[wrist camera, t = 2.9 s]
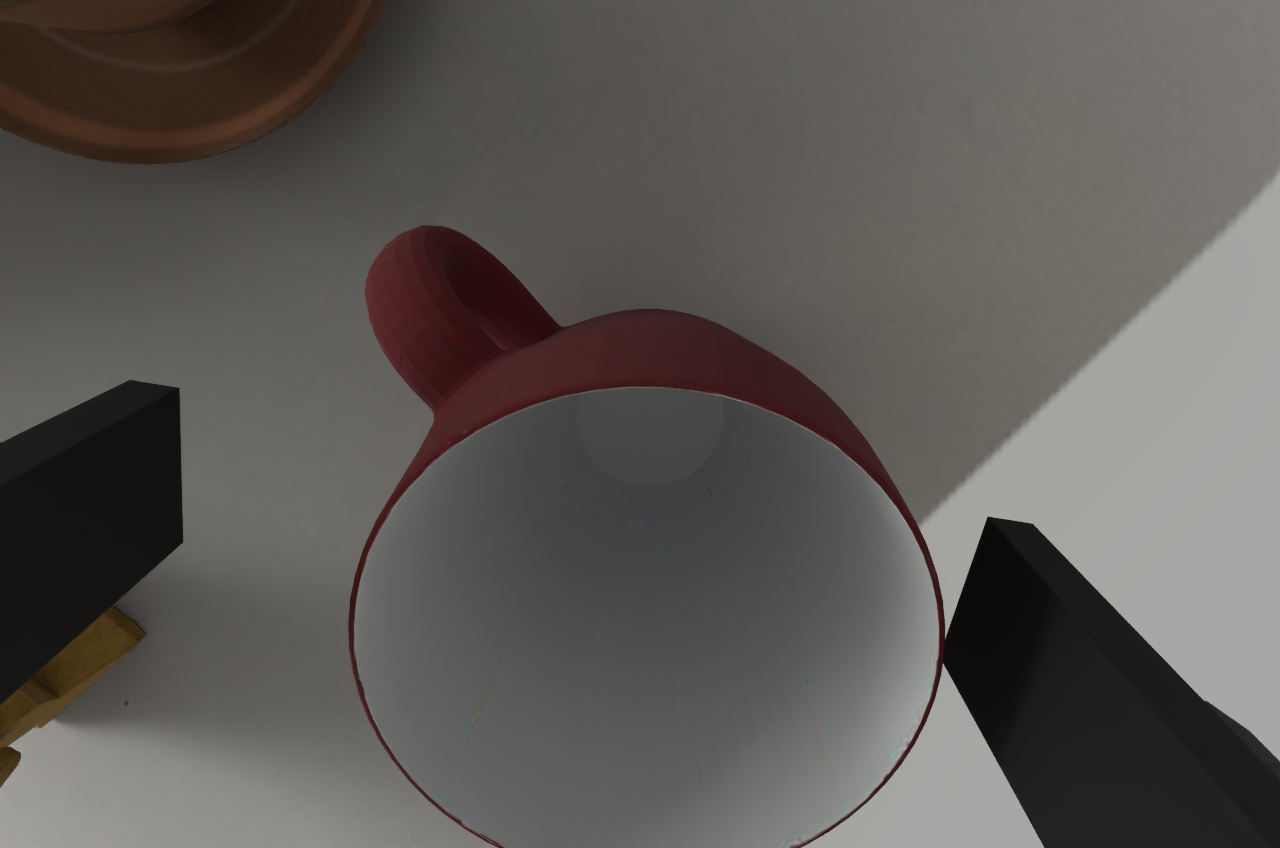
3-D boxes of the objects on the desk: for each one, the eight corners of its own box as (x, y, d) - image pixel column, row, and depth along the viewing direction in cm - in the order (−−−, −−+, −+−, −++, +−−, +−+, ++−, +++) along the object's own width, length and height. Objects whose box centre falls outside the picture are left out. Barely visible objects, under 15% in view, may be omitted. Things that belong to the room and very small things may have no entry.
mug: (340, 368, 20) (65, 584, 11) (542, 97, 18) (418, 73, 9) (666, 610, 22) (674, 964, 13) (881, 396, 20) (1078, 638, 11)
